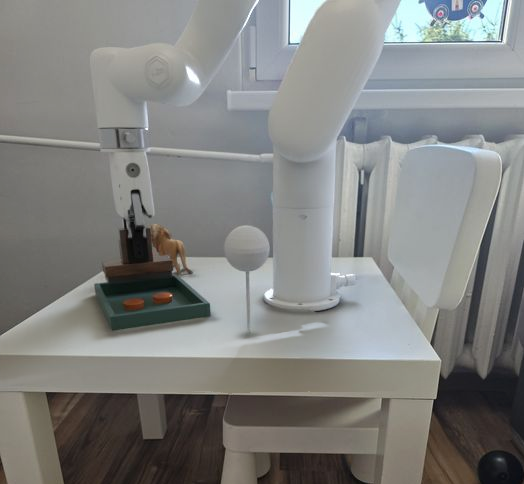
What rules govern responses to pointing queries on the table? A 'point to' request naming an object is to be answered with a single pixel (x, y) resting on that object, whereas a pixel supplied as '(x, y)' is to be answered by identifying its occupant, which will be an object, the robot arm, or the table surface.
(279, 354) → the table surface
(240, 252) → the lollipop
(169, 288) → the tray
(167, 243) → the lion figurine
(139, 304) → the chip
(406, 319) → the table surface
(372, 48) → the robot arm
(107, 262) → the brush
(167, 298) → the chip
